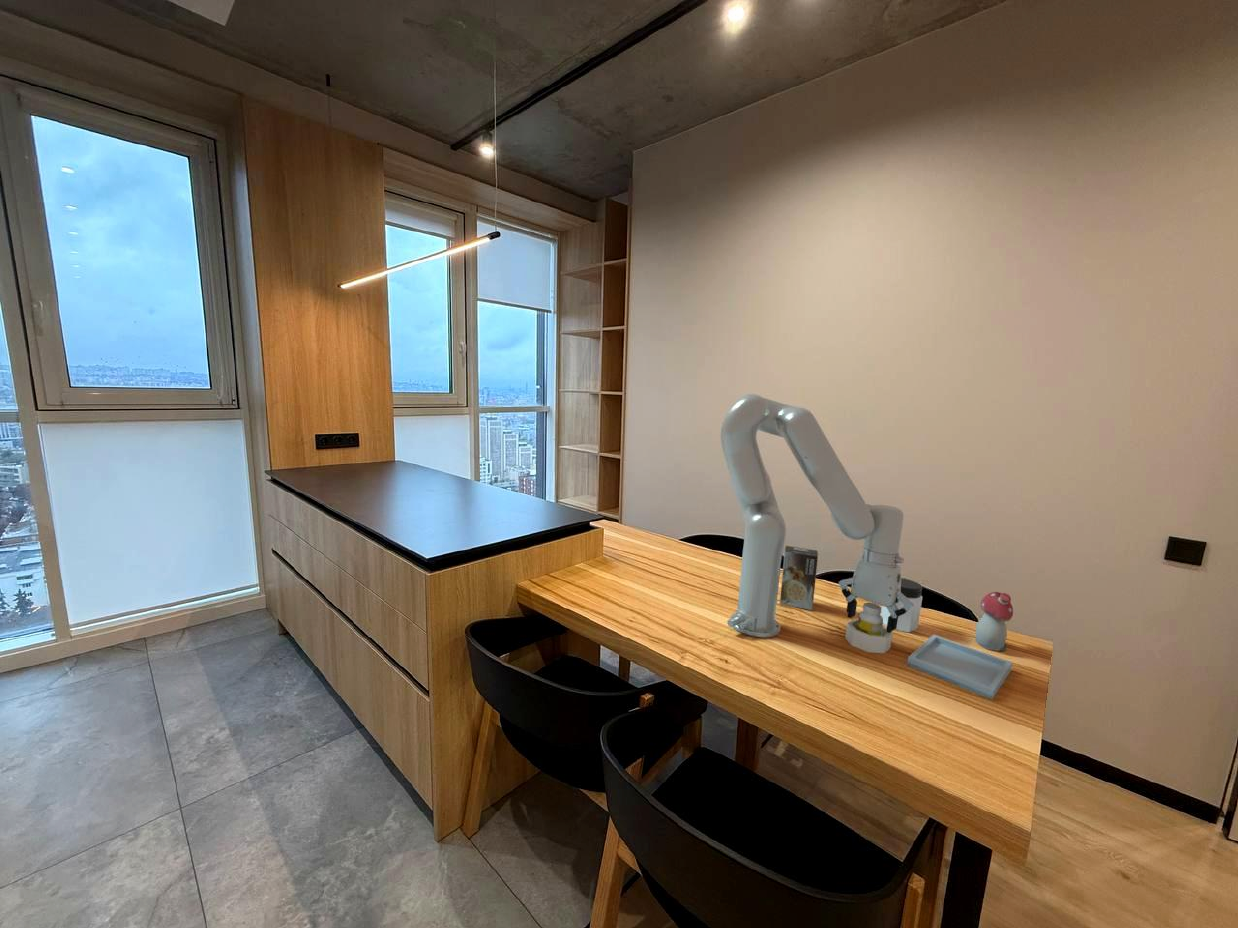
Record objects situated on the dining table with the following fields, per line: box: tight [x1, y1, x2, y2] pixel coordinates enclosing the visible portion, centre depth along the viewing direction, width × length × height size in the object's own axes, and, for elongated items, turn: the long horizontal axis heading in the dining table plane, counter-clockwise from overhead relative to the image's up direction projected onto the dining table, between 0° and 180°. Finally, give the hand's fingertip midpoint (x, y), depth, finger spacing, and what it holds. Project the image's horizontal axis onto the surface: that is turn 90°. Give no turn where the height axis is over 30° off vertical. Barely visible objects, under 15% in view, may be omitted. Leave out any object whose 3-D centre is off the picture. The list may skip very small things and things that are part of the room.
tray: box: [906, 634, 1013, 700], centre depth 113 cm, size 18×16×2 cm
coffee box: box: [779, 545, 819, 611], centre depth 142 cm, size 9×6×16 cm
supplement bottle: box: [857, 602, 884, 636], centre depth 121 cm, size 5×5×10 cm
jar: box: [880, 577, 923, 633], centre depth 132 cm, size 9×8×12 cm
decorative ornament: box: [975, 591, 1014, 652], centre depth 124 cm, size 9×7×15 cm
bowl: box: [845, 618, 893, 654], centre depth 122 cm, size 9×9×4 cm
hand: (870, 623), depth 121 cm, fingers open, 8 cm apart
